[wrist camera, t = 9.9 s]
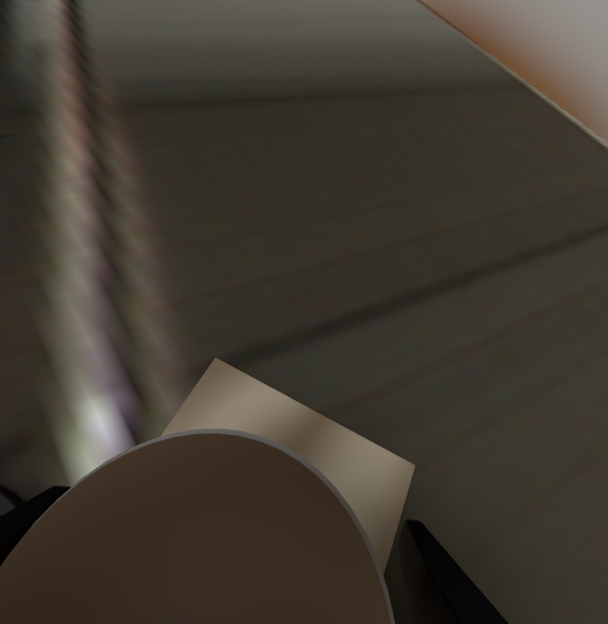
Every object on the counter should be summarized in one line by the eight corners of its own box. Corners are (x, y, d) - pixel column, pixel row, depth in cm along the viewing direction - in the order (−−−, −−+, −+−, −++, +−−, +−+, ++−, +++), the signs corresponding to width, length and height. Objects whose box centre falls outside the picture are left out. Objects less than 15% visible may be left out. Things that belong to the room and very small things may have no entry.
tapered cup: (329, 560, 14) (507, 801, 3) (214, 641, 12) (-139, 1581, 2) (277, 446, 16) (285, 369, 5) (174, 503, 14) (-102, 554, 4)
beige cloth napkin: (404, 466, 17) (415, 465, 16) (306, 787, 12) (310, 826, 10) (219, 366, 19) (215, 357, 18) (58, 601, 13) (35, 613, 12)
